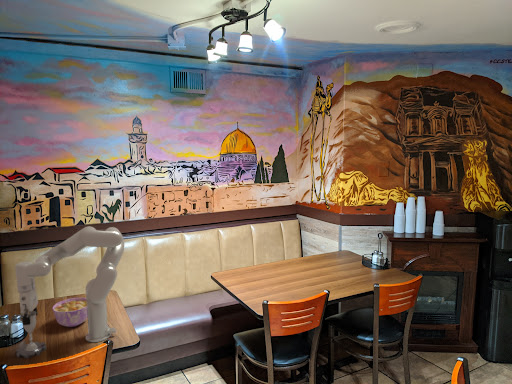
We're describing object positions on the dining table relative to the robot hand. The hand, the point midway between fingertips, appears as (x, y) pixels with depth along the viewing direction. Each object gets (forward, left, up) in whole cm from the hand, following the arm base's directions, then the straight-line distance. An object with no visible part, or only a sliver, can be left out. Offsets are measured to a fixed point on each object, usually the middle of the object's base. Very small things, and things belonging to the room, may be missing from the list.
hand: (30, 320), depth 187 cm
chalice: (0, 0, -15) cm, 15 cm away
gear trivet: (+1, 0, -16) cm, 16 cm away
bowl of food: (-12, -27, -16) cm, 34 cm away
